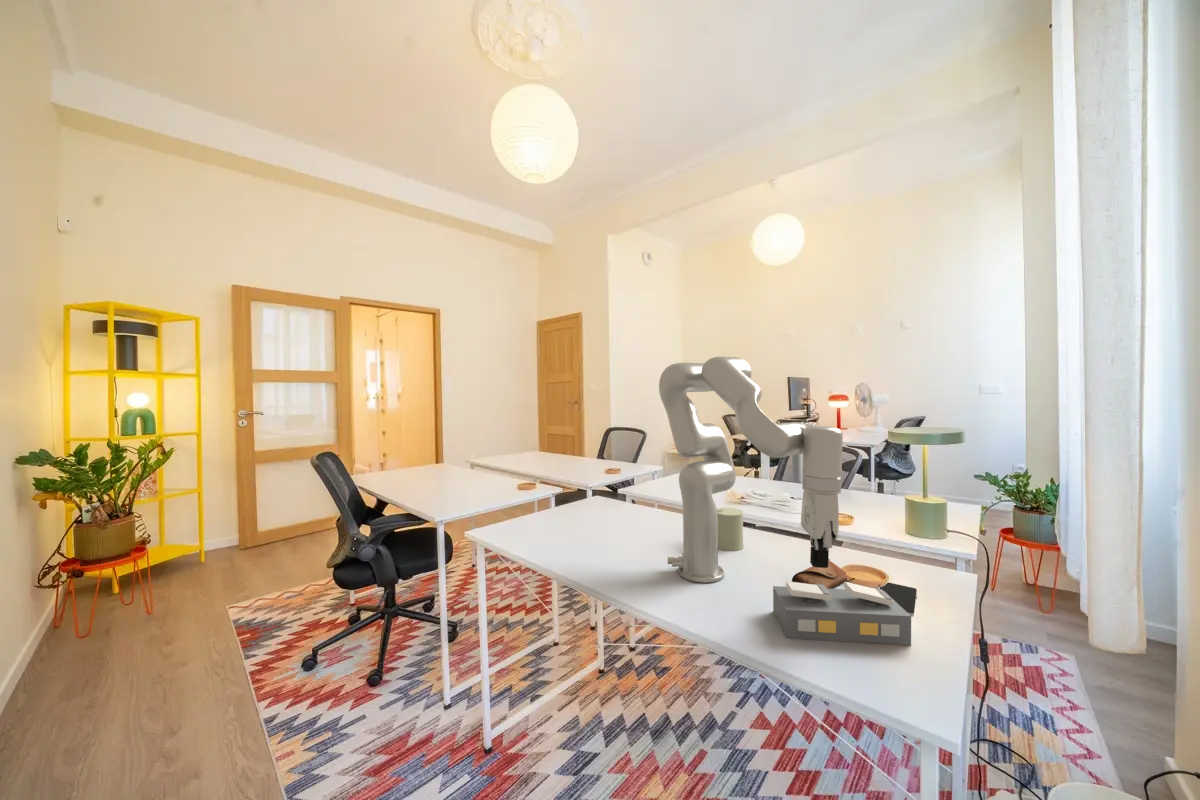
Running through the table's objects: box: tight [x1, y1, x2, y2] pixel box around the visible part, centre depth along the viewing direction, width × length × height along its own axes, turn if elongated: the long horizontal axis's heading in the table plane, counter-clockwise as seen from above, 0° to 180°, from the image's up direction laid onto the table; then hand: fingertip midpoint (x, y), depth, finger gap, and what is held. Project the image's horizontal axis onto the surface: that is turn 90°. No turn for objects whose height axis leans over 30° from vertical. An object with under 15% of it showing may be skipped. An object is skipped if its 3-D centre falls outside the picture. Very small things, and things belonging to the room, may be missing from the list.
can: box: [717, 507, 744, 552], centre depth 146 cm, size 9×9×12 cm
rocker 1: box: [785, 580, 831, 600], centre depth 97 cm, size 8×4×1 cm, turn 82°
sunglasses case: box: [791, 558, 848, 589], centre depth 119 cm, size 18×7×7 cm, turn 126°
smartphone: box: [877, 581, 918, 617], centre depth 108 cm, size 8×1×15 cm
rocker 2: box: [843, 581, 893, 606], centre depth 95 cm, size 8×4×1 cm, turn 82°
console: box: [772, 585, 912, 647], centre depth 96 cm, size 24×11×7 cm, turn 82°
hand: (819, 565), depth 97 cm, fingers closed
